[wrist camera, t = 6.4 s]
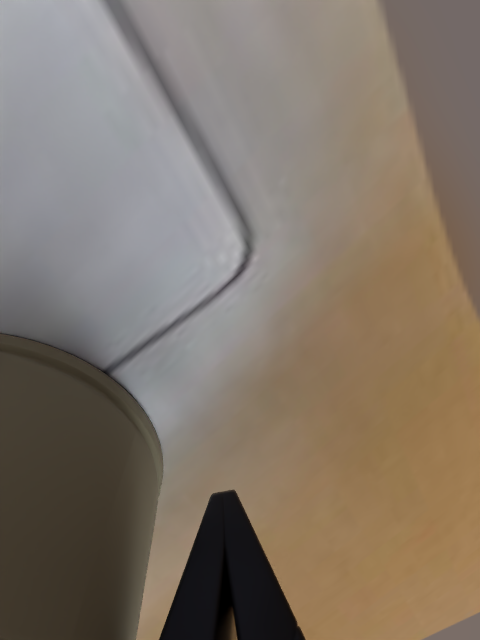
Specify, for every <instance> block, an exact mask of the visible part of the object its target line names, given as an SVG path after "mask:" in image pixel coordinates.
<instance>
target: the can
mask: <svg viewBox="0 0 480 640" xmlns="http://www.w3.org/2000/svg"><path fill="white" fill-rule="evenodd" d="M162 478H163V457H162V450H161V446H160V442H159V439H158V436H157V434H156V431H155V429H154V427H153V425H152V423H151V421H150V420H149V418H148V417H147V415H146V414H145V412H144V410H143V409H142V408H141V407H140V405H139V404H138V403H137V402H136V401H135V399H134V398H133V397H132V396H131V395H130V394H129V393H128V392H127V391H126V390H125V389H124V388H122V387H121V386H120V385H119V384H118V383H116V382H115V381H114V380H113V379H112V378H110V377H109V376H107V375H106V374H104V373H103V372H102V371H100V370H99V369H97V368H95V367H94V366H92V365H90V364H89V363H87V362H85V361H83V360H81V359H79V358H77V357H75V356H73V355H71V354H69V353H67V352H64V351H62V350H59V349H57V348H54V347H51V346H49V345H46V344H42V343H39V342H36V341H32V340H29V339H24V338H20V337H16V336H11V335H5V334H0V640H136V635H137V629H138V623H139V616H140V610H141V604H142V597H143V591H144V585H145V579H146V573H147V566H148V560H149V554H150V548H151V542H152V536H153V530H154V524H155V517H156V510H157V503H158V497H159V494H160V489H161V484H162Z"/></svg>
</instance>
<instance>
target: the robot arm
mask: <svg viewBox="0 0 480 640" xmlns="http://www.w3.org/2000/svg"><path fill="white" fill-rule="evenodd" d="M159 640H306V639H305V637H304V635H303V633H302V631H301V629H300V627H299V626H298V624H297V621H296V619H295V616H294V614H293V612H292V610H291V608H290V606H289V604H288V602H287V599H286V597H285V595H284V593H283V591H282V589H281V587H280V585H279V582H278V580H277V578H276V576H275V574H274V572H273V570H272V567H271V565H270V563H269V561H268V559H267V557H266V555H265V553H264V550H263V548H262V546H261V544H260V542H259V540H258V538H257V536H256V533H255V531H254V529H253V527H252V525H251V523H250V521H249V519H248V516H247V514H246V512H245V510H244V508H243V506H242V504H241V502H240V499H239V497H238V495H237V493H236V491H235V490H228V491H224V492H218V493H213V494H212V495H211V497H210V500H209V502H208V505H207V508H206V511H205V514H204V516H203V519H202V522H201V525H200V527H199V530H198V533H197V536H196V539H195V541H194V544H193V547H192V550H191V552H190V555H189V558H188V561H187V564H186V566H185V569H184V572H183V575H182V578H181V580H180V583H179V586H178V589H177V591H176V594H175V597H174V600H173V603H172V605H171V608H170V611H169V614H168V616H167V619H166V622H165V625H164V628H163V630H162V633H161V636H160V639H159Z"/></svg>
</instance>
